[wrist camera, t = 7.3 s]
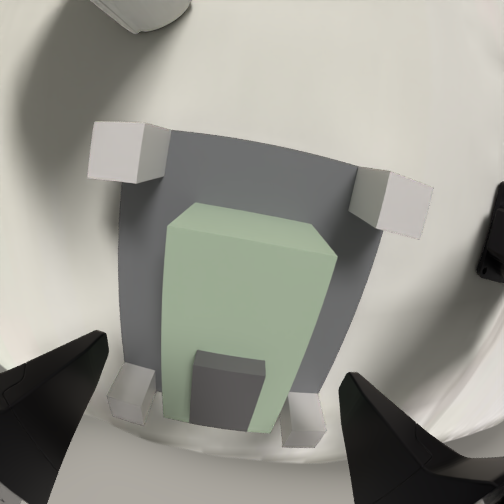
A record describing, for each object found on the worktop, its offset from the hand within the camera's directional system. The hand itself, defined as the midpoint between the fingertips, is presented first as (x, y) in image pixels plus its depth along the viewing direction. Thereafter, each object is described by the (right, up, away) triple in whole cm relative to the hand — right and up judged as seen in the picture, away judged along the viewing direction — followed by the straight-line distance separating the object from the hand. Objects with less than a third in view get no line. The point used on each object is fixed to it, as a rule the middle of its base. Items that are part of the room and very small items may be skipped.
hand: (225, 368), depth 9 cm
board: (0, +2, +4) cm, 4 cm away
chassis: (0, +2, +5) cm, 5 cm away
